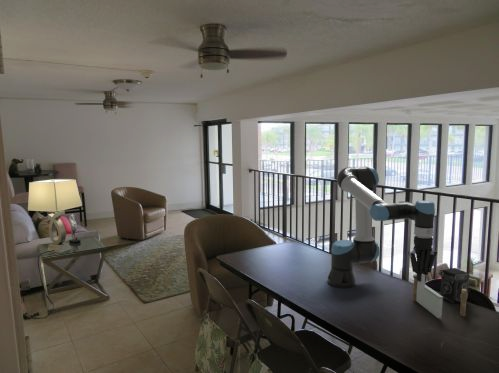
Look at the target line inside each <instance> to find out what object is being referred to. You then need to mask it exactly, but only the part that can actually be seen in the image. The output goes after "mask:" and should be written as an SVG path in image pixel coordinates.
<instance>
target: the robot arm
mask: <svg viewBox="0 0 499 373" xmlns="http://www.w3.org/2000/svg"><path fill="white" fill-rule="evenodd" d="M336 181H337V185H338V186H339V188H340V189H341V190H343V191H344V192H345V193H349V194H350V195H351V196H352V197H353V198H354V199H355V236H354V237H353V238H352V240H350V239H340V240H336V241H334V242H333V243H332V245H331V250H330V252H331V258H330V260H331V262H330V263H331V267H330V271H329V273H328V276H327V283H328V284H329V285H330V286H333V287H337V288H341V289H343V288H345V289H347V288H353V287H354V286H356V282H357V280H356V277H355V273H354V266H353V265H354V264H355V265H356V264H365V263H366V264H367V263H368V264H369V263H372V262H375V261H376V260H378V258H379V256H380V247H379V244H378V242H377V241H376V240H375V238H374V237H373V235H372V234H373V232H372V230H373V228H372V227H373V226H372V224H373V222H372V220H374V221H376V222H385V221H386V222H387V221H397V220H411V221H414V226H413V227H414V231H413V234H414V236H413V249H412V250H411V251H408V252H407V254H408V255H409V258H410V262H411V263H410V264H411V269H412V270H411V271H412V272H413V273H415V275H417V281H418V287H419V288H420V289H425V285H426V281H427V276H428V275H429V274H430V273H432V269H433V266H434V263H435V259H436V256H437V255H438V251H436V250H434V249H433V246H434V245H433V244H434V238H433V237H434V229H435V228H434V226H435V214H436V209H435V207H436V205H435V203H434V202H433V201H430V200H416V201H415V203H413V202H410V201H407V200H405V201H402V200H401V201H398V202H394V203H393V202H391V203H390V202H389V203H388V202H386V201H385V200H383V199H382V198H380V196H378V195H377V194H376V193H374V191H375V188H376V187H377V186H378V184H379V181H380V178H379V173H378V172H377V170H376V169H375V168H374V167H372V166H347V167H345V168H342V169H341V170H340V171H339V172H338V174H337V176H336Z"/></svg>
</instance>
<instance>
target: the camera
mask: <svg viewBox="0 0 499 373" xmlns="http://www.w3.org/2000/svg"><path fill="white" fill-rule="evenodd" d="M441 272H442V273H441V279H440V281H441V282H440V295H441V296H443V299H445V300H447V301H449V302H450V303H452V304H455V303H461V292H462V289H466V290H467V299H468V297H469V293H470V292H471V290H470V288H469V283H470V282H469V279H470V274H469V273H468V272H466V271H464V270H461V269H459V268H455V267H452V268H445V269H444V268H443V269H442V270H441Z"/></svg>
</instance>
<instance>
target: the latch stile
mask: <svg viewBox="0 0 499 373" xmlns="http://www.w3.org/2000/svg"><path fill="white" fill-rule="evenodd" d="M467 300H468V298H467V290H466V289H462V292H461V302H460V308H459V316H461V317H465V316H466V312H467Z"/></svg>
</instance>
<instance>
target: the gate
mask: <svg viewBox="0 0 499 373" xmlns="http://www.w3.org/2000/svg"><path fill="white" fill-rule="evenodd" d="M443 300H444V298H443V296H441V295H440V294H439V293H438V292H437V291H435V290H434V289H432V288H431V287H429V286H428V285H427V284H425V289H420V288H419V287H418V282H417V295H416V301H417V303H419V305H421V306H422V307H423V308H425V310H427V311H428V312H430V314H432V315H433V316H435V317H436V318H437V319H442V316H443V314H442V313H443V303H444V302H443Z"/></svg>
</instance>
